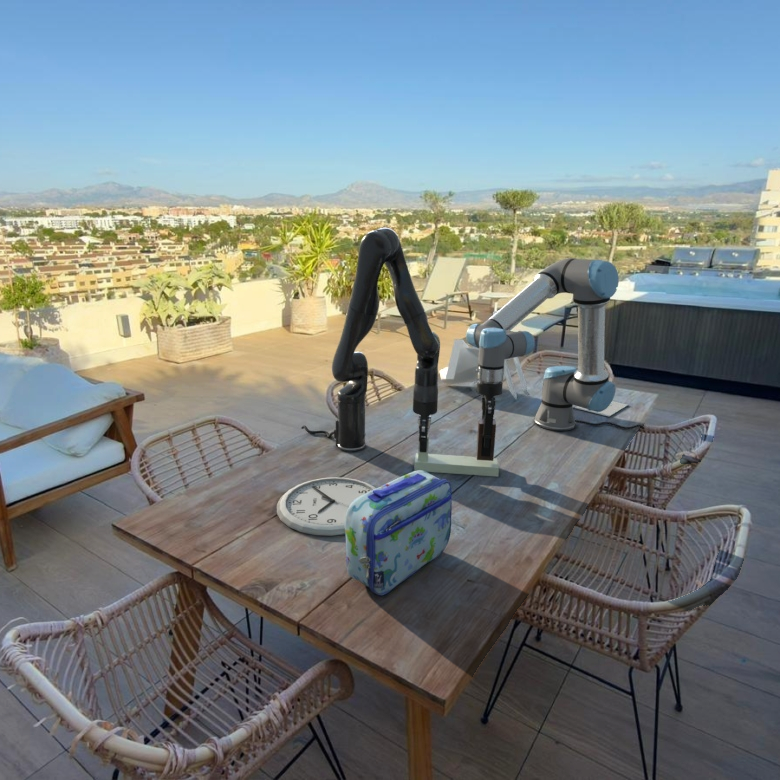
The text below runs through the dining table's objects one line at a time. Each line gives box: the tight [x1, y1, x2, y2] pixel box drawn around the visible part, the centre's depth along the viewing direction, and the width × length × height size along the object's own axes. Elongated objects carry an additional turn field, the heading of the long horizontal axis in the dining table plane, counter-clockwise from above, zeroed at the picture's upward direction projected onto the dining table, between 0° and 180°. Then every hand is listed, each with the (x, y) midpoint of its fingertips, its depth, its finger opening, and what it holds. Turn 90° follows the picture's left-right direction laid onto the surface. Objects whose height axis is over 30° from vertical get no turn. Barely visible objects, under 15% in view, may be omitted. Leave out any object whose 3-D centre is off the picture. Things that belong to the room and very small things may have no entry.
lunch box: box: [344, 470, 453, 596], centre depth 114 cm, size 26×11×21 cm, turn 135°
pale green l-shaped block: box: [413, 433, 500, 478], centre depth 164 cm, size 26×7×11 cm, turn 83°
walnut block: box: [475, 417, 497, 461], centre depth 162 cm, size 5×5×12 cm
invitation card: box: [573, 400, 629, 418], centre depth 226 cm, size 21×1×15 cm
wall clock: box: [276, 476, 377, 537], centre depth 142 cm, size 30×2×30 cm
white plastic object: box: [438, 310, 531, 400], centre depth 245 cm, size 37×45×31 cm
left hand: (423, 448), depth 165 cm, fingers closed on pale green l-shaped block, 4 cm apart
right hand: (485, 451), depth 163 cm, fingers closed on walnut block, 5 cm apart
